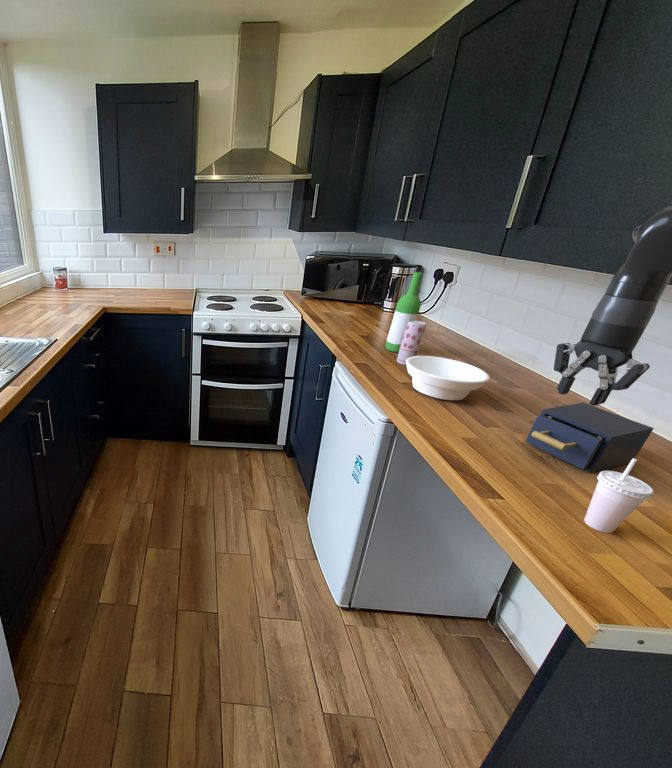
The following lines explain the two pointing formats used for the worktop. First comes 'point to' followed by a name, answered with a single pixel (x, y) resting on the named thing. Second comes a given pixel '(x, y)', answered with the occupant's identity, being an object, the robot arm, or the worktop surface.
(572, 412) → the cabinet
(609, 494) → the smoothie
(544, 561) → the worktop surface
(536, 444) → the drawer
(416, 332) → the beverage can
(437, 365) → the bowl
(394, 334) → the wine bottle
